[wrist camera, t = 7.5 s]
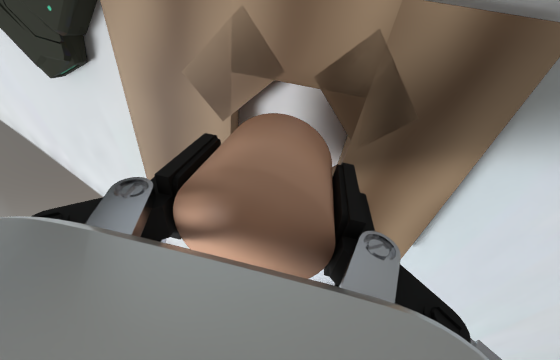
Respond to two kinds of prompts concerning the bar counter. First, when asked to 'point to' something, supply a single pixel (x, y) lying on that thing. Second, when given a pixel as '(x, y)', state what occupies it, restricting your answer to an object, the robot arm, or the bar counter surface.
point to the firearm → (49, 31)
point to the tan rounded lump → (263, 198)
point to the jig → (337, 83)
